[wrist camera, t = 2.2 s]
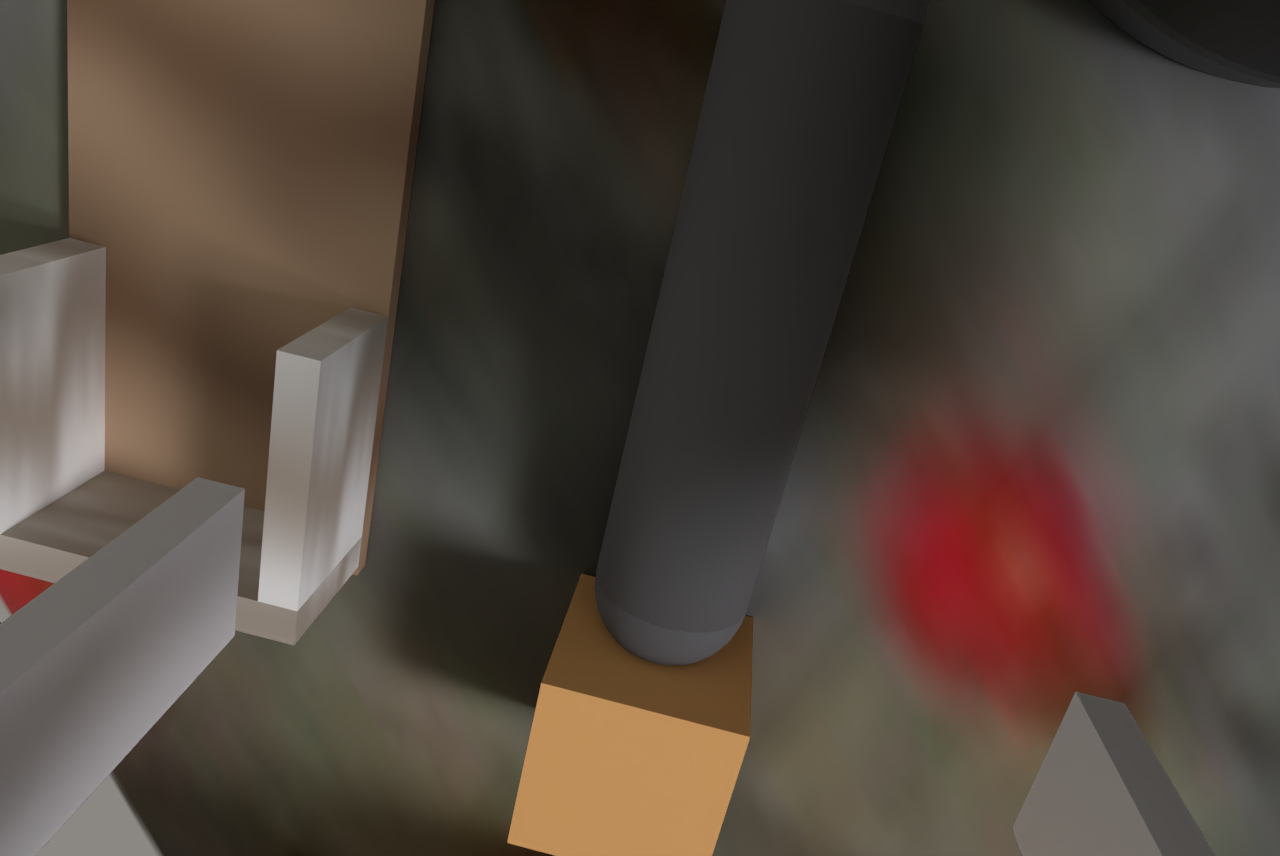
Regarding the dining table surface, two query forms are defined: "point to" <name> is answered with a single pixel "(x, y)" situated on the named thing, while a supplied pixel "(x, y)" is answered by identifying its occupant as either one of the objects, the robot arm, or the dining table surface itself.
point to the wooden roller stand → (216, 287)
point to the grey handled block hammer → (714, 432)
